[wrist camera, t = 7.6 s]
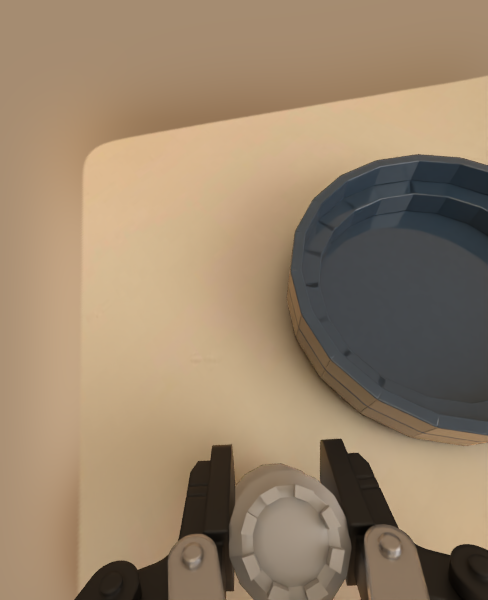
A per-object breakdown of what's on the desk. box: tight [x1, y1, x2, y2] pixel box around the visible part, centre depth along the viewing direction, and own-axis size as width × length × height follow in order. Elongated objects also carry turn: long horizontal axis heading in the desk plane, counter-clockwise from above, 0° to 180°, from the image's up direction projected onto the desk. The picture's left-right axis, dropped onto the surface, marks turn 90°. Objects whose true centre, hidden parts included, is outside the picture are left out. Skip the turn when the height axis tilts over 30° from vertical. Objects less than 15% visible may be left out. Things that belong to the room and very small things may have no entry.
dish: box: [287, 154, 488, 446], centre depth 20 cm, size 16×16×4 cm
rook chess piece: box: [229, 464, 352, 600], centre depth 12 cm, size 4×4×8 cm
